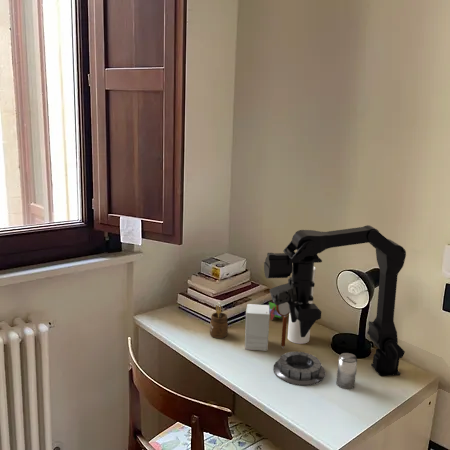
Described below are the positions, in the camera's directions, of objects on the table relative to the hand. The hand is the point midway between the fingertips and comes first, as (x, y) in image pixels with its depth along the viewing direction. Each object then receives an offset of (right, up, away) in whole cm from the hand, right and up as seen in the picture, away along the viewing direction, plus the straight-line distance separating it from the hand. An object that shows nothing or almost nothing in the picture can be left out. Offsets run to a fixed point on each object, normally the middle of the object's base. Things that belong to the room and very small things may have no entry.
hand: (298, 329), depth 144 cm
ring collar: (+1, -14, +6) cm, 15 cm away
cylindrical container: (+4, -9, +26) cm, 28 cm away
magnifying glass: (-2, -10, +19) cm, 22 cm away
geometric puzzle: (-3, -5, +41) cm, 41 cm away
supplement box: (-11, -9, +21) cm, 25 cm away
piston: (+13, -16, 0) cm, 20 cm away
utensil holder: (-23, -7, +27) cm, 36 cm away
